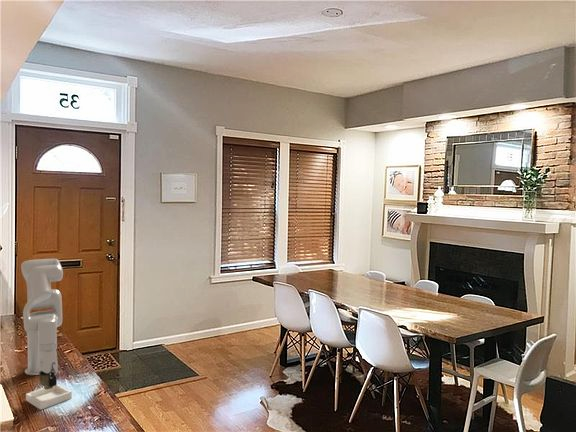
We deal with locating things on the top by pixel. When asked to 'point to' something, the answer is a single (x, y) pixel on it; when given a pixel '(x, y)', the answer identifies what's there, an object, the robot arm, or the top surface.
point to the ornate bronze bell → (45, 379)
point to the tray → (48, 396)
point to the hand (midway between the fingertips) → (48, 383)
